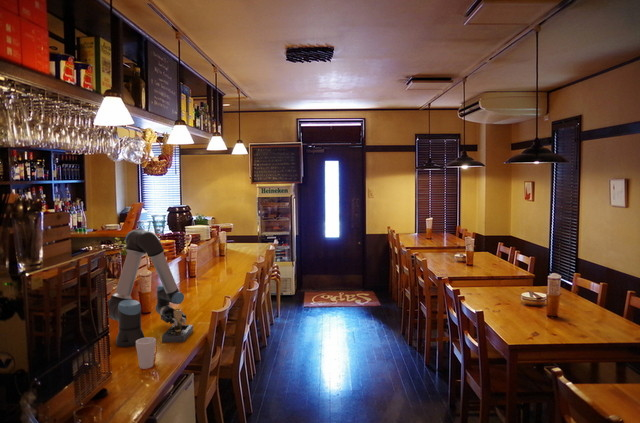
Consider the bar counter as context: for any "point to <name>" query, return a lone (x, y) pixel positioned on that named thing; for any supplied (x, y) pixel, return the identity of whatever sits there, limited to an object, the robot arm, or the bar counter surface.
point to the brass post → (178, 320)
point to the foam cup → (146, 351)
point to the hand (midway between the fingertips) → (180, 322)
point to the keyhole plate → (180, 337)
